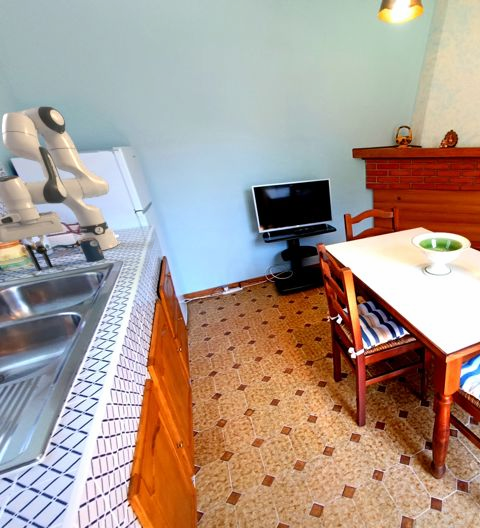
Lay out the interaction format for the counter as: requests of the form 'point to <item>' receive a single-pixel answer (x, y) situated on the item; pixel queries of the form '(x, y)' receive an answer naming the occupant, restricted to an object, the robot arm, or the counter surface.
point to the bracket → (36, 259)
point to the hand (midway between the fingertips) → (39, 246)
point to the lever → (39, 249)
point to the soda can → (91, 249)
